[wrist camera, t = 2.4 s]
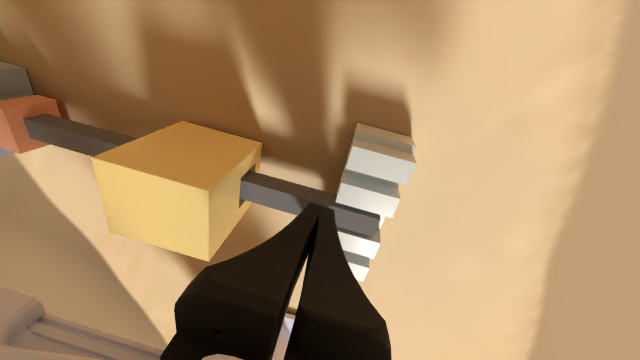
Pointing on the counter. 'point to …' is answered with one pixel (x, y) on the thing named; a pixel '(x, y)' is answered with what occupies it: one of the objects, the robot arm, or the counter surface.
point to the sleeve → (177, 187)
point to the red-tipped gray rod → (49, 128)
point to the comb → (372, 187)
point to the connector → (13, 87)
